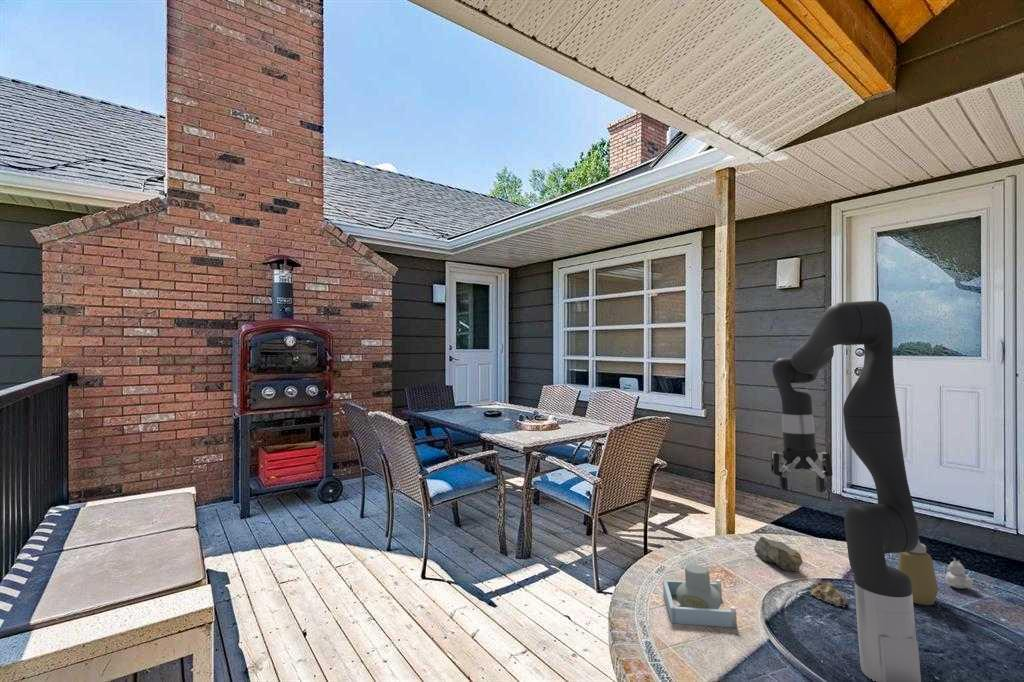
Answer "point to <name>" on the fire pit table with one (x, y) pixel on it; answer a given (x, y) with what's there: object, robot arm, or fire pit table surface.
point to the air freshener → (698, 589)
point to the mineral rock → (828, 593)
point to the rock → (778, 554)
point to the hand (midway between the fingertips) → (802, 491)
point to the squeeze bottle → (920, 574)
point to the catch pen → (697, 609)
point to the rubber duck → (958, 576)
